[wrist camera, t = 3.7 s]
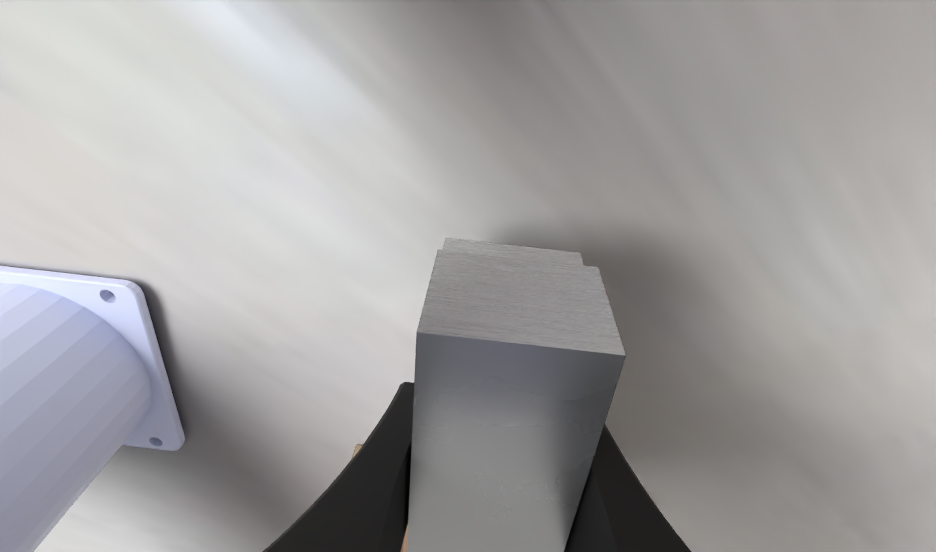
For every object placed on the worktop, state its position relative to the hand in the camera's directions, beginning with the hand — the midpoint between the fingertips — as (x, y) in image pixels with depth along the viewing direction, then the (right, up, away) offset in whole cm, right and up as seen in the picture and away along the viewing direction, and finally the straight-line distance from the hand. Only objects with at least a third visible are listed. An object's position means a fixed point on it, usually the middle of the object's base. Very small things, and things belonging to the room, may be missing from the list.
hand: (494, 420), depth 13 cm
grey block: (0, +1, +2) cm, 2 cm away
